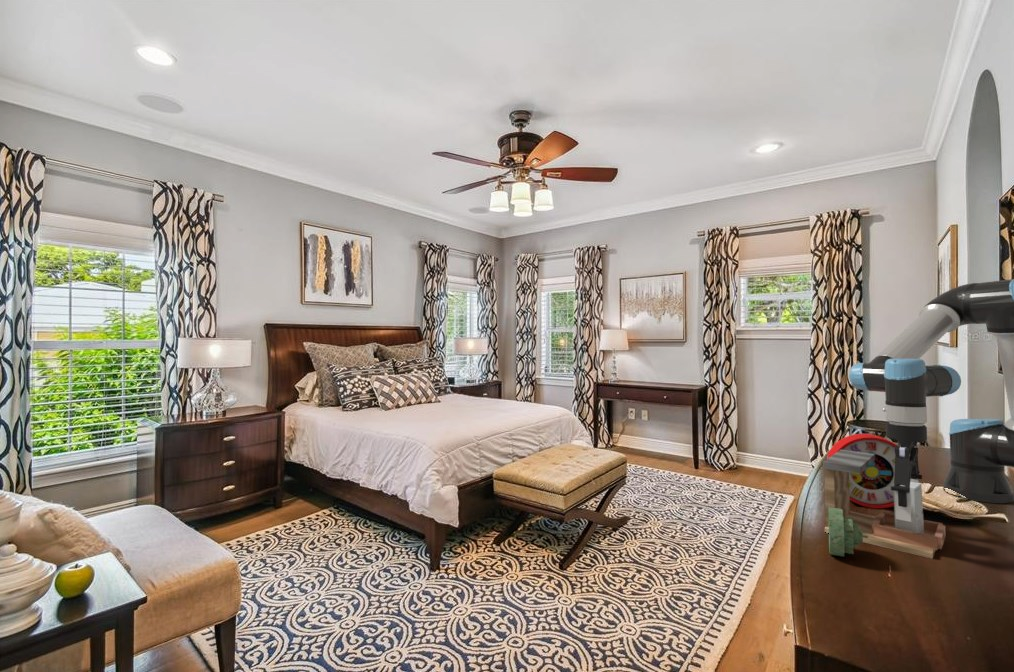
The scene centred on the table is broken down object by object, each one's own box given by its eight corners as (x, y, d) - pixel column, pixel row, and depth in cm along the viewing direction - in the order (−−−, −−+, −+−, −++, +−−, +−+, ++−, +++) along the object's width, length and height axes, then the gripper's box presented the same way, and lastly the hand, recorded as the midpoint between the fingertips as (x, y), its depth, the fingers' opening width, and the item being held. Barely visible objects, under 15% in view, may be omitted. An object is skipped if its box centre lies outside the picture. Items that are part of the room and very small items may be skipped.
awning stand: (841, 513, 130) (840, 449, 130) (947, 536, 114) (945, 463, 115) (824, 532, 118) (823, 461, 118) (939, 560, 102) (938, 478, 102)
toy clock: (831, 504, 138) (830, 435, 138) (826, 497, 143) (825, 431, 143) (918, 512, 130) (916, 439, 130) (909, 505, 136) (907, 435, 136)
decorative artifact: (828, 544, 111) (828, 501, 111) (866, 551, 107) (865, 507, 107) (830, 561, 103) (829, 515, 103) (870, 569, 99) (869, 521, 99)
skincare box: (917, 541, 109) (916, 488, 109) (893, 535, 113) (892, 484, 113) (924, 534, 113) (923, 483, 113) (901, 528, 116) (900, 479, 117)
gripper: (894, 415, 124) (896, 496, 124) (876, 428, 107) (878, 522, 107) (932, 418, 119) (934, 503, 119) (919, 432, 102) (922, 531, 102)
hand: (907, 512), depth 113 cm, fingers open, 13 cm apart
